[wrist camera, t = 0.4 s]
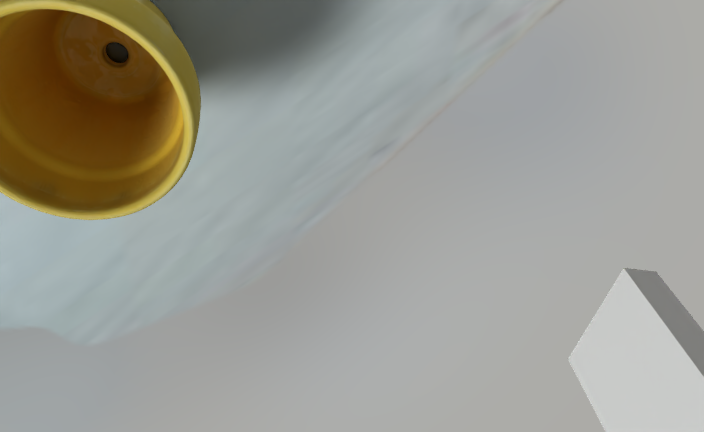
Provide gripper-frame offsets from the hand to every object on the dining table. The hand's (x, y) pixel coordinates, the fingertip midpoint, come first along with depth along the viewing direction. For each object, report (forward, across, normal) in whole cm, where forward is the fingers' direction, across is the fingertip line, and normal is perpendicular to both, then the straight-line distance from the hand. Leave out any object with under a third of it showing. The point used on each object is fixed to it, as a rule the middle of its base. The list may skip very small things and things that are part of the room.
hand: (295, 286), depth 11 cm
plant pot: (+25, -8, -6) cm, 27 cm away
